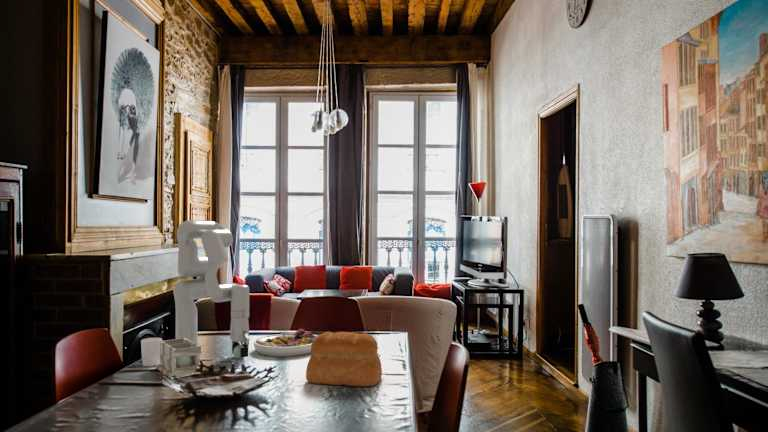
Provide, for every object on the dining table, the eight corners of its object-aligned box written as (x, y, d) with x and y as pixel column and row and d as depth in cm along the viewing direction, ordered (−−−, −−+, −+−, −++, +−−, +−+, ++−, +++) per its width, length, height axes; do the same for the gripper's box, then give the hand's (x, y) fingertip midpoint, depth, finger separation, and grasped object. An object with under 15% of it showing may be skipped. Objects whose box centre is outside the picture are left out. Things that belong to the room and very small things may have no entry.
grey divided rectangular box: (156, 367, 204) (156, 341, 204) (187, 362, 211) (187, 337, 211) (171, 379, 187) (171, 350, 187) (204, 373, 194) (204, 346, 195)
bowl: (301, 361, 214) (301, 342, 214) (240, 356, 224) (240, 337, 224) (331, 346, 242) (331, 329, 243) (276, 342, 252) (276, 325, 252)
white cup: (153, 367, 205) (154, 341, 205) (136, 366, 206) (136, 341, 207) (166, 362, 213) (166, 337, 213) (149, 361, 214) (149, 337, 214)
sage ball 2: (231, 358, 219) (231, 344, 219) (243, 356, 222) (243, 343, 222) (236, 360, 214) (236, 347, 214) (248, 358, 218) (249, 345, 218)
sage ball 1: (173, 369, 196) (173, 354, 196) (188, 366, 199) (188, 352, 199) (178, 372, 191) (178, 357, 191) (193, 369, 195) (193, 354, 195)
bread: (374, 389, 174) (374, 338, 175) (302, 384, 180) (302, 335, 181) (384, 376, 190) (384, 329, 190) (317, 372, 195) (317, 327, 196)
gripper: (224, 312, 223) (223, 352, 223) (239, 317, 209) (239, 360, 209) (240, 310, 228) (240, 350, 227) (256, 315, 214) (256, 357, 214)
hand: (240, 354), depth 218 cm, fingers open, 8 cm apart
